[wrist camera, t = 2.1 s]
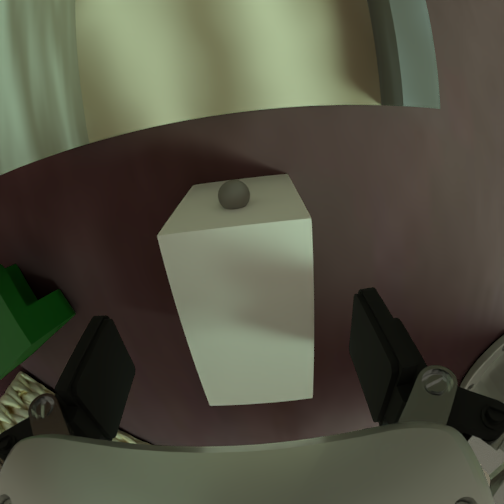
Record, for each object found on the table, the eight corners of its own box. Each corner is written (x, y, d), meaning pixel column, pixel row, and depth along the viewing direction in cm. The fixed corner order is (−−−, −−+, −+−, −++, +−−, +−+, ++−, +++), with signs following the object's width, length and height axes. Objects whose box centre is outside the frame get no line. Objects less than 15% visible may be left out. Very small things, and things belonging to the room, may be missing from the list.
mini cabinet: (285, 155, 15) (309, 187, 9) (296, 312, 20) (312, 397, 14) (190, 166, 16) (150, 207, 9) (220, 320, 20) (209, 405, 14)
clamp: (56, 244, 22) (-2, 243, 13) (93, 302, 23) (48, 329, 14) (-17, 317, 21) (-74, 338, 12) (15, 368, 21) (-34, 406, 12)
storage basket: (204, 459, 30) (195, 570, 16) (147, 483, 35) (133, 562, 22) (15, 353, 23) (-49, 462, 10) (6, 405, 28) (-31, 482, 15)
